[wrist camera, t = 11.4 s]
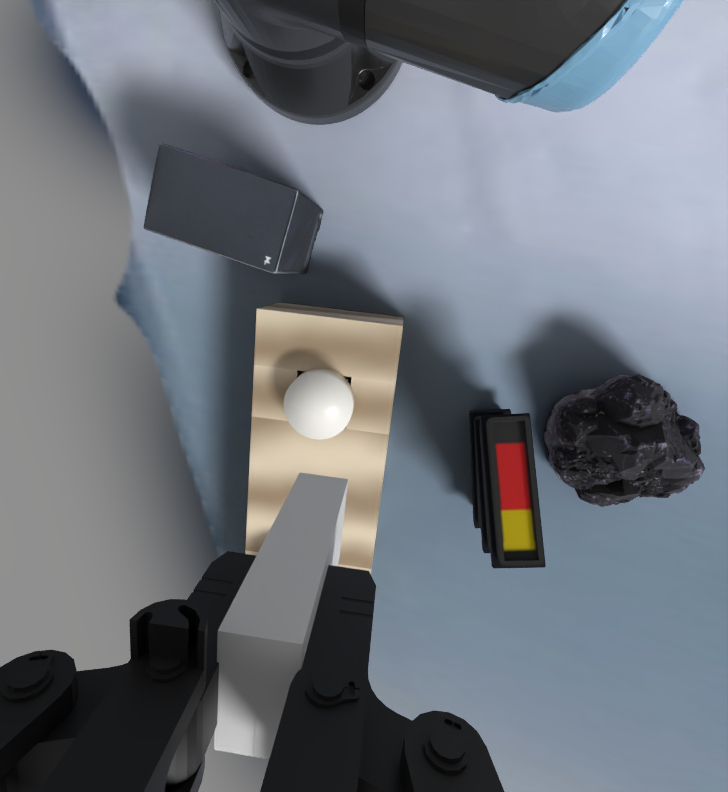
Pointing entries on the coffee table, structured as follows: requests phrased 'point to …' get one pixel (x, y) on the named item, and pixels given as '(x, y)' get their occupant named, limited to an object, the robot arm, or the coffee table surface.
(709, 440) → the coffee table surface
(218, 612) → the robot arm
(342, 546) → the block
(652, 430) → the black rock
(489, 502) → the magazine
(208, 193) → the small box
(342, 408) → the pale plunger
